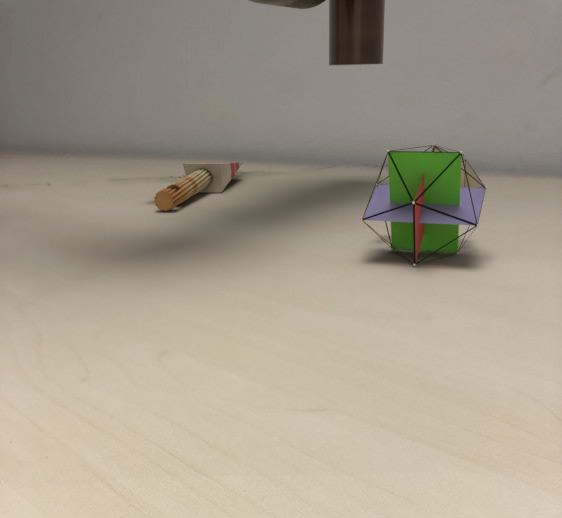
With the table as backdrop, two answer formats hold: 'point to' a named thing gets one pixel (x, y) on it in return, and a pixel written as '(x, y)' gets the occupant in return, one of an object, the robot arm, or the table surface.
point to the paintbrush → (197, 182)
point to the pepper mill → (356, 32)
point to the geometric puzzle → (427, 200)
